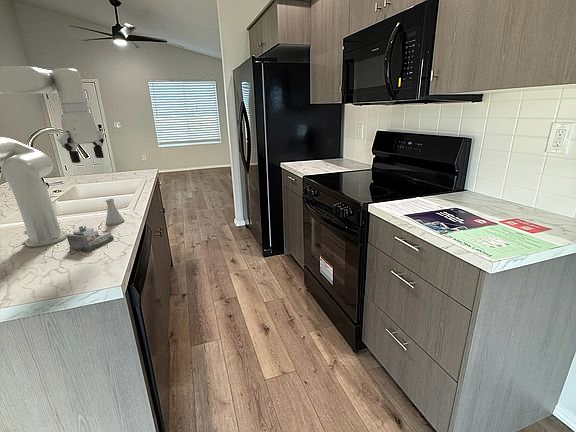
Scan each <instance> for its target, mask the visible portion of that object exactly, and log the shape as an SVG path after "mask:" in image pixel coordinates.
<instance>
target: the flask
mask: <svg viewBox="0 0 576 432" xmlns="http://www.w3.org/2000/svg"><path fill="white" fill-rule="evenodd" d="M105 203H106V205H107V207H106V208H107V210H106V218H105V219H106V220H105V225H107V226H114V225H118V224H121V223H123V222H125V219H124V217H123V216H122V214H121V213H120V211H119V210H118V208H117V206H116V204H115V199H114V198H108V199H105Z"/></svg>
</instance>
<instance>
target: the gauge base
mask: <svg viewBox="0 0 576 432" xmlns="http://www.w3.org/2000/svg"><path fill="white" fill-rule="evenodd" d="M94 233H95V236H96V238H95V239H93V240H91V241H89V242H88V241H87V237H86V236H84V235H74V234H73V233H69V234H67V235H66V236H67V237H66V238H67V242H68V245H69V247H68V248H69V251H73V252H80V251H81V253H90V252H93V251H95V249H98V248H99V247H102V246H104V245H106V244H107V243H110V242H111V241H114V239H115V238H114V236H113V235H112V231H108V232H106V233H105V234H99V231H98V230H94Z"/></svg>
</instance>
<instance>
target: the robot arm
mask: <svg viewBox="0 0 576 432" xmlns="http://www.w3.org/2000/svg"><path fill="white" fill-rule="evenodd" d="M8 94H10V95H11V94H43V95H52V94H53V95H54V94H57V95H58V99H59V103H60V106H61V109H62V110H61V111H62V114H60V123H61V130H62V135H61V136H59V137H58V138H57V141H58V142H59V144H60V145H61V147H62V148H63V149H65V150H66V151H67V152H68V154H69V157H70V161H71V162H72V164H80V163H81V161H82V160H81V158H80V154H79V151H78V150H77V149H78V145H86V144H92V145H93V152H94V157H95V158H96V159H103V158H104V156H105V155H104V152H103V143H104V142H105V133H103V132H101V131H100V130H98V128H97V126H96V123H95V120H94V117H93V115H92V113H91V112H90V110H91V106H90V105H88V101H87V97H86V93H85V88H84V84H83V81H82V76H81V73H80V72H79V71H78V70H77V69H75V68H68V67H67V68H66V67H63V68H62V67H61V68H54V69H53V70H52V69H51V70H49V69H43V68H40V67H35V66H30V65H29V66H28V65H7V66H4V65H2V66H0V96H1V95H8ZM0 167H1V171H2V175H3V177H4V179H5V180H6V182H7V184H8V186H9V187H10V189H11V191H12V195H13V196H14V199H15V202H16V203H17V204H16V205H17V207H18V210H19V213H20V216H21V219H22V221H23V224H24V227H25V229H26V230H24V232H23V234H24V235H27V236H28V237H27V239H26V240H25V241H24V242H25V246H26V247H30V248H38V247H39V248H40V247H44V246H49V245H52V244H53V245H54V244H56V243H59V242H61V241H63V240H65V239H66V238H67V236H66V235H68V233H67V232H66V231H64V230H61V227H60V223H59V221H58V218H57V213H56V211H55V208H54V205H53V202H52V198H51V195H50V192H49V190H48V187H47V186H46V184H45V183H44V181H43V180H42V178H43V177H47V176H48V175H49V174H51V173H52V171H53V168H54V164H53V161H52V159H51V158H50V157H49V156H48V155H47V154H46V153H44V152H42V151H39V150H38V149H35V148H33V147H31V146H28V145H26V144H24V143H21V142H19V141H17V140H14V139H11V138H9V137H5V136H0Z"/></svg>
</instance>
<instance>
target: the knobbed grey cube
mask: <svg viewBox="0 0 576 432" xmlns="http://www.w3.org/2000/svg"><path fill="white" fill-rule="evenodd" d="M94 232H95V230H94V228H93V227H87V226H86V225H81V226H79V227H78V229H76V230H73V231H72V234H74V235H84V236H86V237H87V241H88V242H89V241H91V240H93V239H95V238H96V236H95V233H94Z"/></svg>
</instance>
